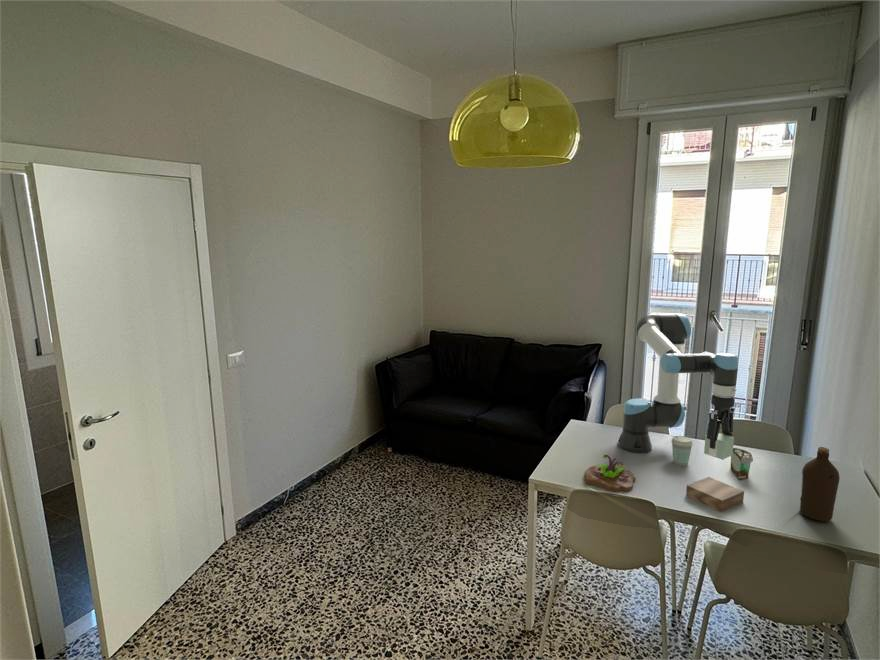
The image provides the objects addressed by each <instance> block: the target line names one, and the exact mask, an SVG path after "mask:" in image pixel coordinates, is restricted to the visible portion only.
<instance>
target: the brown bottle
mask: <svg viewBox="0 0 880 660" xmlns="http://www.w3.org/2000/svg"><path fill="white" fill-rule="evenodd" d="M829 457H830V449H829V448H827V447H824V446H818V448H817V451H816V457H815V458H813V459H811V460H810V461H808V462H806V463H805V464H804V465H803V467H802V470H801V491H800V503H799V504H800V506H799V512H800V513H801V514H802V515H804V516H805V517H808V518H810V519H813V520H817V521H824V522H827V521H832V520H833V515H834V509H835V503H836V500H837V493H838V490H839V489H838V488H839V483H840V474H839V470H838V469H837V468H836V467H835V466H834V465H835V464H833V463H832V462H831V461H830V458H829Z"/></svg>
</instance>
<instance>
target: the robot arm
mask: <svg viewBox="0 0 880 660" xmlns="http://www.w3.org/2000/svg"><path fill="white" fill-rule="evenodd" d="M635 334H636V336H637V338H638V339H639V340H640V341H641V342H643V343H646V344H647V345H648V346H649V347H650V348H651V349H652V351H653V352H654V353H655V354H656V355H657V356H658V357H659V362H658V365H659V366H658V377H657V378H658V379H657V380H658V381H657V392H656V395H655V396H654V397H653V399H652V400H653V402H651V401H650V400H649V399H647V398H640V397H639V398H630V399H628V400H627V401H625V402H624V404H623V410H622V412H623V417H622V431H621V434H620V435H619V438H618V441H617V446H618V447H619V449H621V450H623V451H625V452H628V453H633V454H639V455H640V454H641V455H642V454H648V453H650V452H651V451H652V449H653V447H652V446H653V445H652V441H651V437H650V434H649V433H650V431H649V430H650V428H668V429H672V428H678V427H680V426H682V424H683V423H684V421H685V417H686V410H685V406H684V404H683V403H682V402H681V399H680V398H679V397H678V390H679V378H680V377H679V375H680V374H710V375H712V376H713V377H712V384H711V385H712V386H711V393H712V394H711V399H710V403H711V405H712V406H713V407H714V409H713V412H709V413H708V426H707V429H706V430H707V433H706V435H707V439H710V445H709V455H708V456H709V457H710V456H711V457H713V458H716V457H717V451H718V440H717V438H718V434H719V433H720V430H721V434H724V435H727V436H731V437H733V432H734V413H735V401H736V400H735V399H736V397H735V396H736V392H737V387H736V386H737V385H736V384H737V378H738V371H739V357H738V356H737V355H736V354H734V353H729V352H718V353H714V352H711V351H710V352H709V351H702V352H701V353H683V352H682V350H681V349H682V347H683V345H685V343H686V340H688V339H689V338H690V337H691V335H692V326H691V322H690V320H689V317H688V316H687V315H686V314H684V313H676V312H675V313H673V312H669V313H648V314H646V315H645V314H644V315H643V316H642V317H641V318H639V320H638V321H637V322H636V324H635Z"/></svg>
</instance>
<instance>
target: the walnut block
mask: <svg viewBox="0 0 880 660" xmlns="http://www.w3.org/2000/svg"><path fill="white" fill-rule="evenodd" d="M685 491H686V492H685V497H687V498H689V499H691V500H693V501H695V502H697V503H699V504H702V505H705V506H706V507H708V508H710V509H713V510H715V511H717V512H719V513H723V512H726V511H728V510H730V509H733V508H734V507H736V506H739V505H741V504H744V497H745V491H744V490H742V489H740V488H737V487H734V486H733V485H730V484H727V483H725V482H722V481H720V480H717V479H714V478H713V477H710V476H708V477H705V478H704V477H703V478H702V479H699V480H697V481H694V482H692V483H688V484H686V490H685Z"/></svg>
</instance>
